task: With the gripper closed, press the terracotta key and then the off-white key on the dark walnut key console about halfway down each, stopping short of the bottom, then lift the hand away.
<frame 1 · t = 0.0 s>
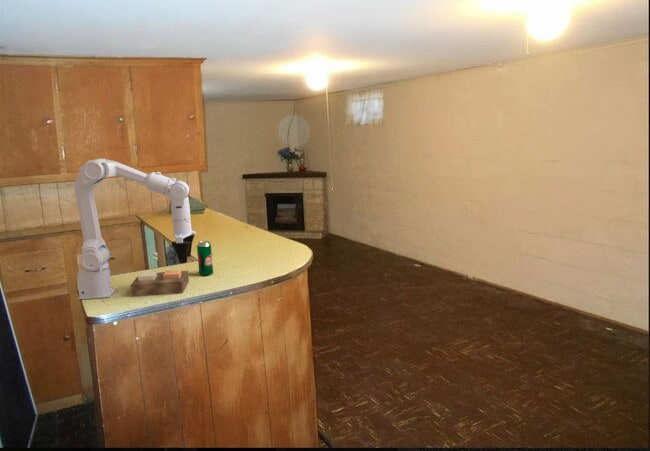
hand: (185, 259, 164), 10 cm above the counter, tool pointing down, fingers open, 7 cm apart
offwhite key: (147, 277, 166), point 4 cm above the counter, slide at 0.0 cm
terracotta key: (172, 275, 166), point 4 cm above the counter, slide at 0.0 cm
key console: (161, 288, 167), on the counter
soda can: (206, 274, 182), on the counter
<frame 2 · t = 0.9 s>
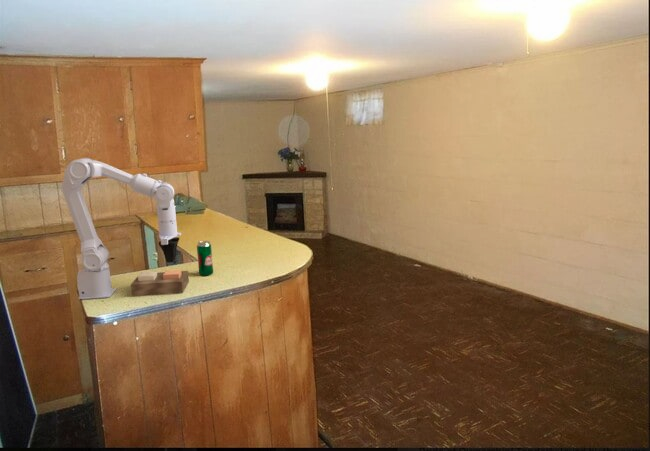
hand: (171, 261, 165), 9 cm above the counter, tool pointing down, fingers closed
nothing on the counter moved.
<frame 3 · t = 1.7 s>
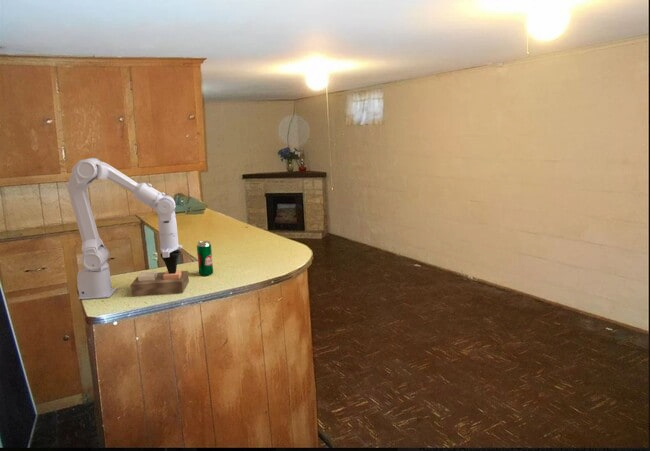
hand: (172, 273, 166), 5 cm above the counter, tool pointing down, fingers closed, pressing on terracotta key
terracotta key: (172, 276, 166), point 4 cm above the counter, slide at 0.3 cm, touching gripper
everything else where it was.
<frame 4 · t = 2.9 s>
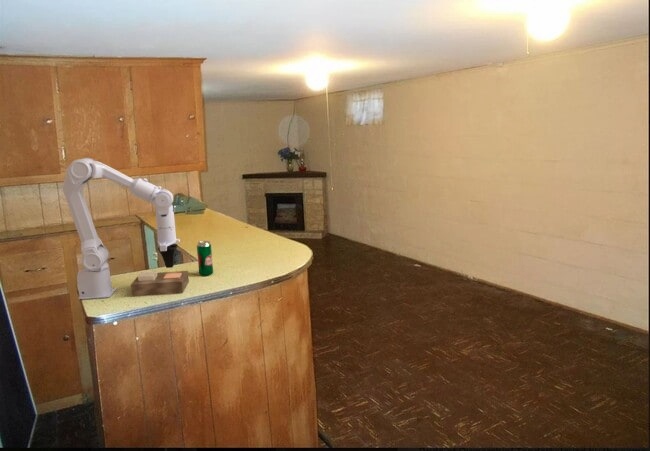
hand: (169, 267, 166), 7 cm above the counter, tool pointing down, fingers closed
terracotta key: (172, 279, 167), point 3 cm above the counter, slide at 1.1 cm
everything else where it was.
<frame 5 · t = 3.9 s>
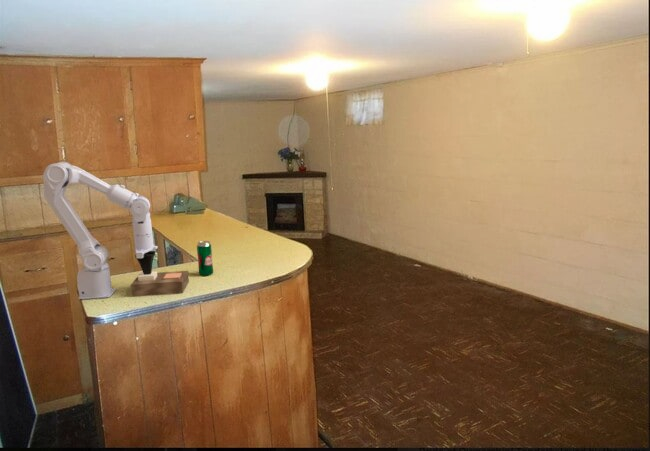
hand: (147, 274, 165), 5 cm above the counter, tool pointing down, fingers closed, pressing on offwhite key
offwhite key: (147, 277, 166), point 4 cm above the counter, slide at 0.0 cm, touching gripper
everything else where it was.
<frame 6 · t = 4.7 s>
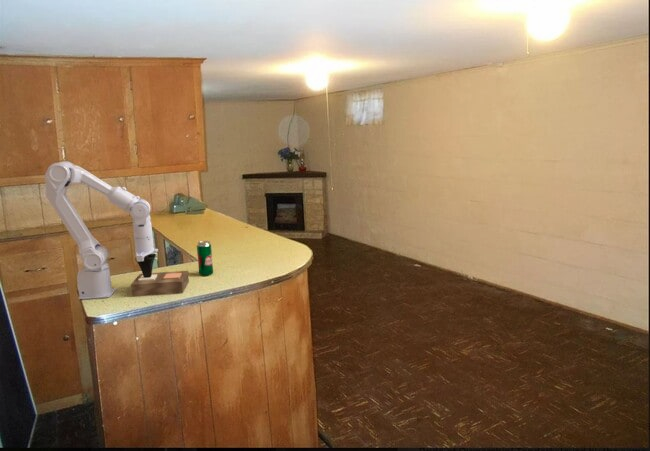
hand: (147, 276, 166), 4 cm above the counter, tool pointing down, fingers closed
offwhite key: (148, 280, 166), point 3 cm above the counter, slide at 1.1 cm
everything else where it was.
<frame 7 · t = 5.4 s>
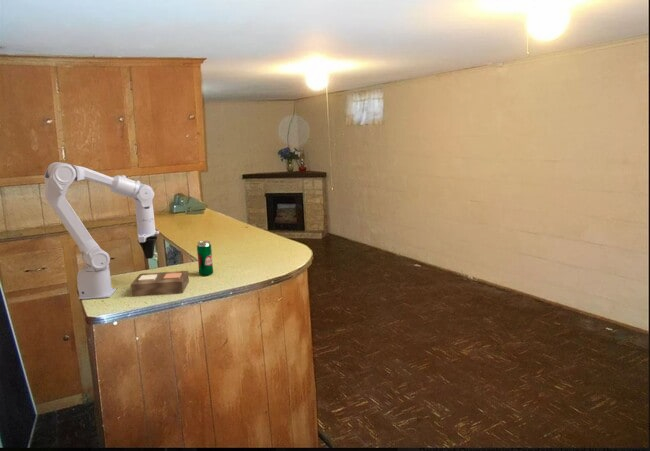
hand: (149, 258, 172), 9 cm above the counter, tool pointing down, fingers closed
nothing on the counter moved.
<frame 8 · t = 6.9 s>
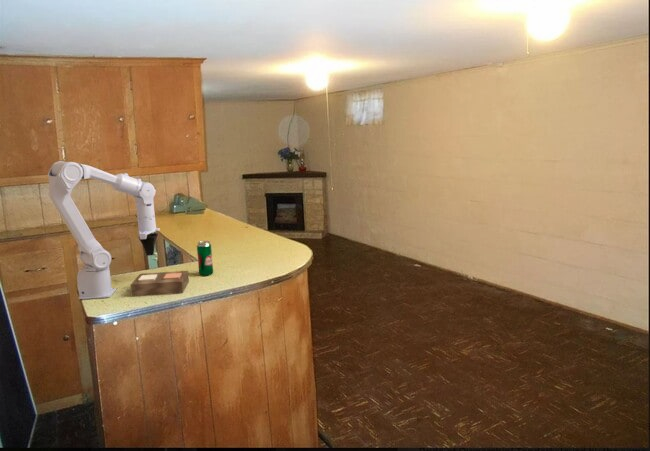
hand: (150, 254, 174), 9 cm above the counter, tool pointing down, fingers closed
nothing on the counter moved.
at the end: terracotta key slide at 1.1 cm; offwhite key slide at 1.1 cm; soda can moved 0.2 cm from its start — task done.
